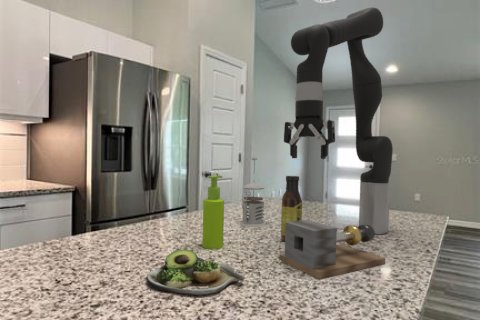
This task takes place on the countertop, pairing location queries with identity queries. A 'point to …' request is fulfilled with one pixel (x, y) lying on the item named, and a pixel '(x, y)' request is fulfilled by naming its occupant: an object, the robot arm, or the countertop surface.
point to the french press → (253, 206)
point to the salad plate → (191, 274)
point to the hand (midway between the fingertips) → (308, 158)
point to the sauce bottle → (291, 203)
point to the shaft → (356, 234)
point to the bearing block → (322, 251)
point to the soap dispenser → (213, 217)
